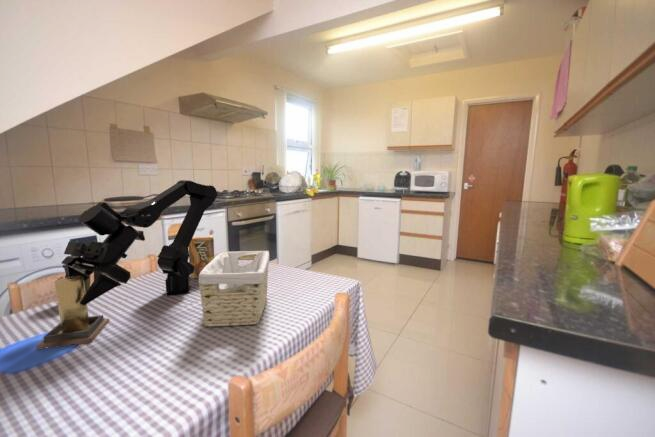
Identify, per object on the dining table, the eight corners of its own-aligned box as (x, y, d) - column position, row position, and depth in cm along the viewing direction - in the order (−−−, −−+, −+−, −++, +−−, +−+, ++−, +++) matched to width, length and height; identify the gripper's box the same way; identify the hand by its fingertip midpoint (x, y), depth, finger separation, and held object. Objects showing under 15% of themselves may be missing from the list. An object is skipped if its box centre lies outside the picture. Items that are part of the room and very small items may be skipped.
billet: (95, 325, 70) (89, 275, 69) (76, 336, 66) (69, 283, 64) (75, 325, 71) (69, 275, 69) (56, 336, 66) (48, 283, 64)
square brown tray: (109, 321, 74) (108, 313, 74) (92, 341, 65) (91, 332, 65) (62, 327, 71) (61, 318, 71) (36, 349, 62) (35, 339, 62)
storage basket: (222, 293, 94) (220, 250, 92) (271, 291, 96) (270, 249, 94) (198, 331, 71) (195, 274, 69) (263, 328, 72) (263, 273, 70)
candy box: (214, 272, 114) (212, 235, 112) (215, 276, 110) (213, 237, 108) (190, 275, 110) (188, 237, 108) (190, 279, 106) (188, 239, 104)
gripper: (66, 224, 73) (12, 279, 64) (113, 230, 66) (59, 293, 57) (103, 247, 81) (60, 299, 72) (148, 255, 74) (106, 313, 65)
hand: (70, 300), depth 67 cm, fingers open, 9 cm apart
